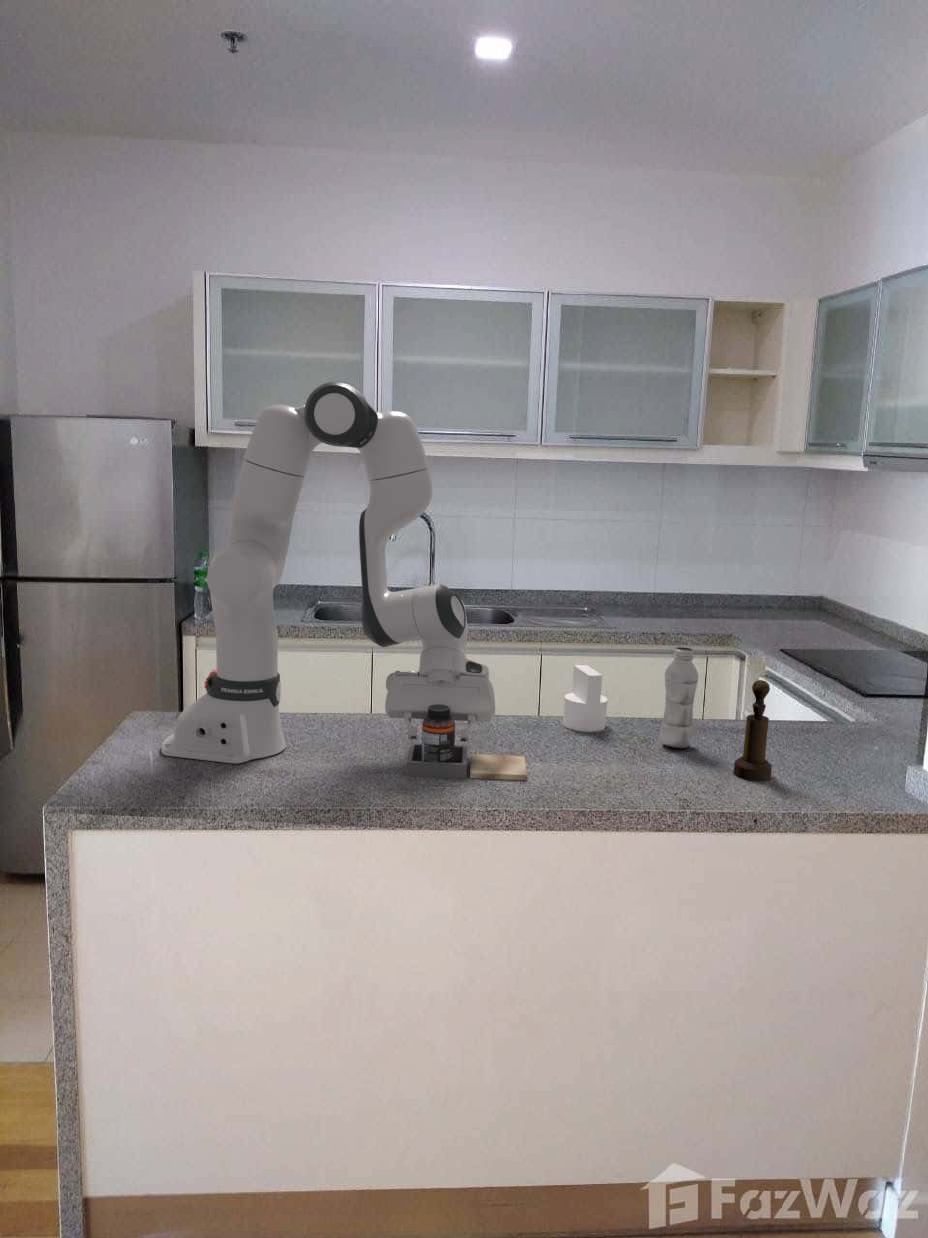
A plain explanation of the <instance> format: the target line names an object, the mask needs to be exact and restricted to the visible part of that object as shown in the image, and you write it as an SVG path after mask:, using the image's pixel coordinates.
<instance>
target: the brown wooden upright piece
mask: <svg viewBox="0 0 928 1238" xmlns="http://www.w3.org/2000/svg"><path fill="white" fill-rule="evenodd" d="M751 687H752V688H751V689H752V692H753V695H754V697H755V701H754V703H752V711H753V713H752V714H748V715H747V716H746V721H745V722H746V724H745V733H744V741H743V742H744V744H743V751H742V755H741V756H739V757H738V758H737V759H735V761H734V765H733V775H734V776H736V777H737V778H740V779H743V780H746V781H755V782H756V781H758V782H762V781H763V782H765V781H768V780H770V779H771V778H772V768H773V766H772V764H771V763H770V762H769V761H768V760H767V759H766V753H767V752H766V751H767V743H768V741H767V740H768V732H769V731H768V730H769V720H770V718H769V717H768V716H765V715H764V713H765V711H766V704H765V698H766V697H767V695H769V693H770V689H771V688H770V684H769V683H768V681H765V680H762V679H758V680H755V681H754V683H753V684H752V686H751Z"/></svg>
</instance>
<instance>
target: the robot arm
mask: <svg viewBox="0 0 928 1238" xmlns="http://www.w3.org/2000/svg"><path fill="white" fill-rule="evenodd" d="M320 444H326V445H328V446H333V447H340V448H341V447H344V448H352V449H357V450H358V451H359V453H360V454H361V456H362V459H363V461H364V465H365V469H366V472H367V473H366V474H367V478H368V484H369V500H368V504H367V507H366V508H365V509H364V510H363V511H362V512H361V513H360V517H359V523H358V524H359V526H358V535H359V536H358V542H359V560H360V574H361V575H360V577H361V591H362V593H361V594H362V596H361V597H362V598H361V599H362V600H361V601H362V603H361V624H362V631H363V633H364V635H365V636H366V637H367V638H368V639H369V640H370V641H371V642H373V643H374V644H375V645H377V646H379V647H382V648H389V647H391V646H395V645H396V646H397V645H399V644H403V643H406V642H413V641H421V644H422V650H421V652H420V656H419V667H418V671H415V670H413V671H411V670H410V671H403V670H395V671H394V672H392V673H390V674H388V675H387V677H386V679H385V688H386V690H387V692H386V696H385V703H384V710H385V714H386V715H387V716H388V717H389V719H403V724H404V726H405V728H406V729H407V731H408V733H407V735H408V736H407V737H408V739H409V740H417V738H418V735H417V734H418V727H417V726H413V725H412V720H424V718H426V717H427V716H428V707H429V706H431V705H435V704H441V705H446V706H449V707H450V717H451V718H452V719H454V721H455V722H456V721H458V722H467V726H466V728H461V729H460V742H470V741H469V740H470V734H471V732H473V729H474V728H475V727H476V722H479V723H490V722H491V721H492V720H494V719H495V716H496V698H495V691H494V686H493V683H492V681H491V680H490V670H489V667H488V666H487V664H483V663H480V662H477V661H474V660H471V659H469V658H467V654H466V653H465V650H466V646H467V643H468V620H467V619H468V617H467V612H466V611H467V610H466V607H465V604H464V601H463V600H462V599H461V598H460V597H459V595H458V594H456V592H454V591H453V590H452V589H451V588H449V587H448V586H446V585H444V584H433V585H425V586H420V587H416V588H410V589H405V590H399V591H398V590H397V591H391V590H389V588H388V580H387V579H388V578H387V577H388V576H387V565H386V564H387V562H386V561H387V560H386V547H387V544H388V541H389V540H390V539H391V537H392V536H393V535H394V534H396V533H398V531H400V530H402V529H403V528H405V527H406V526H408V525H409V524H411V523H413V522H414V521H415V520H418V518H419V517H421V516H422V514H423V513H425V512H426V510H427V509H428V507H429V506H430V503H431V501H432V498H433V484H432V475H431V472H430V468H429V463H428V458H427V455H426V451H425V448H424V446H423V442H422V439H421V437H420V433H419V431H418V429H417V427H416V425H415V422H414V419H412V417H411V416H409V415H408V414H407V413H405V412H401V411H397V410H386V411H375V409H374V408H373V407H372V406H371V404H370V403H369V402H368V400H367V399H366V397H365V395H364V394H363V392H362V391H361V390H360V389H358V388H357V386H355V385H353V384H352V383H350V382H346V381H341V380H336V381H335V380H334V381H328V382H325V383H322V384H321V385H319V386H317V387H316V388H315V389H314V390H312V392H311V393H310V394H309V395H308V397H307V400H306V402H305V404H303V405H302V406H298V407H297V406H296V407H295V406H292V405H287V404H273V405H270V406H267V407H266V408H265V409H263V410H262V412H261V413H260V415H259V416H258V419H257V420H256V422H255V426H254V428H253V430H252V433H251V435H250V438H249V441H248V444H247V446H246V449H245V453H244V455H243V459H242V464H241V467H240V472H239V476H238V479H237V484H236V488H235V491H234V494H233V495H234V496H233V500H232V515H231V522H230V524H231V525H230V530H229V535H228V539H227V541H228V542H227V544H226V546H225V547H224V548H222V549H221V550H219V551H218V552H217V553H216V554H215V555H214V556H213V558H212V559H211V561H210V564H209V566H208V570H207V574H206V583H207V587H208V591H209V594H210V602H211V610H212V615H213V620H214V628H215V642H216V643H215V644H216V646H215V647H216V650H215V651H216V669H213V670H212V671H210V672H209V674H208V676H207V677H206V679H205V681H204V689H205V690H206V691H205V692H206V693H205V694H203V695H202V696H201V697H198V699H196V700H195V701H194V702H193V703H191V704H190V705H188V707H186V708H185V709H184V710H182V711H181V713H180V714H179V715H178V717H177V719H176V722H175V727H174V732H173V733H171V734H170V735H168V736H167V737H166V738H165V739H164V740H163V741H162V743H161V749H160V751H161V754H162V755H164V756H167V757H176V758H182V759H192V760H193V759H194V760H200V761H201V760H202V761H210V762H219V763H227V764H242V763H245V762H249V761H252V760H256V759H262V758H267V757H271V756H274V755H277V754H279V753H281V752H282V751H284V750H285V748H286V747H287V743H286V740H285V737H284V733H283V727H282V721H281V717H280V706H279V704H280V703H281V702H280V701H281V693H282V692H281V690H282V689H281V687H282V686H281V685H282V684H281V683H282V682H281V677H280V676H281V674H280V673H279V671H278V668H279V667H278V665H279V664H278V663H279V661H278V660H279V659H278V658H279V656H278V655H279V654H278V650H279V648H278V647H279V646H278V642H279V641H278V640H279V636H278V635H279V633H278V632H279V631H278V629H277V624H276V617H275V607H274V606H275V605H274V588H276V586H277V585H278V584H279V583H280V581H281V579H282V577H283V573H284V568H285V563H286V561H287V555H288V550H289V545H290V541H291V540H290V539H291V534H292V528H293V522H294V519H295V514H296V511H297V507H298V503H299V499H300V495H301V491H302V489H303V484H304V481H305V476H306V472H307V470H308V469H307V468H308V465H309V461H310V458H311V455H312V454H313V452H314V450H315V449H316V448H317V447H318V446H319V445H320Z"/></svg>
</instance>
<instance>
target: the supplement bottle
mask: <svg viewBox="0 0 928 1238" xmlns="http://www.w3.org/2000/svg"><path fill="white" fill-rule="evenodd" d="M421 725H422V727H421V732H422V733H421V744H422V752H421V753H422V755H421V756H422V758H420V759H421V761H423V762H446V763H455V759H454V746H455V745H456V743H455V741H456V721H454V719H452V718H451V717H450V707H449V706H446V705H441V704H435V705H431V706H429V707H428V716H427V717H426V718H424V719H422V724H421Z"/></svg>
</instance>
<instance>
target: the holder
mask: <svg viewBox="0 0 928 1238" xmlns="http://www.w3.org/2000/svg"><path fill="white" fill-rule="evenodd" d="M421 752H422V743H419V742H418V743H416V742H415V743H413V742H410V744H409V750H408V753H407V758H406V766H405V768H406V769H405V771H406V772H405V776H406V775H407V776H406V777H424V778H425V777H426V778H445V779H446V778H448V779H451V778H452V779H467V768H468V767H467V766H468V765H467V764H468V745H461V744H459V745H458V744H455V746H454V760H460V761H461V760H462V762H454V763H446V762H423V761H419V760H418V761H417V760H415V759H422V756H421V755H422V753H421Z"/></svg>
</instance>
